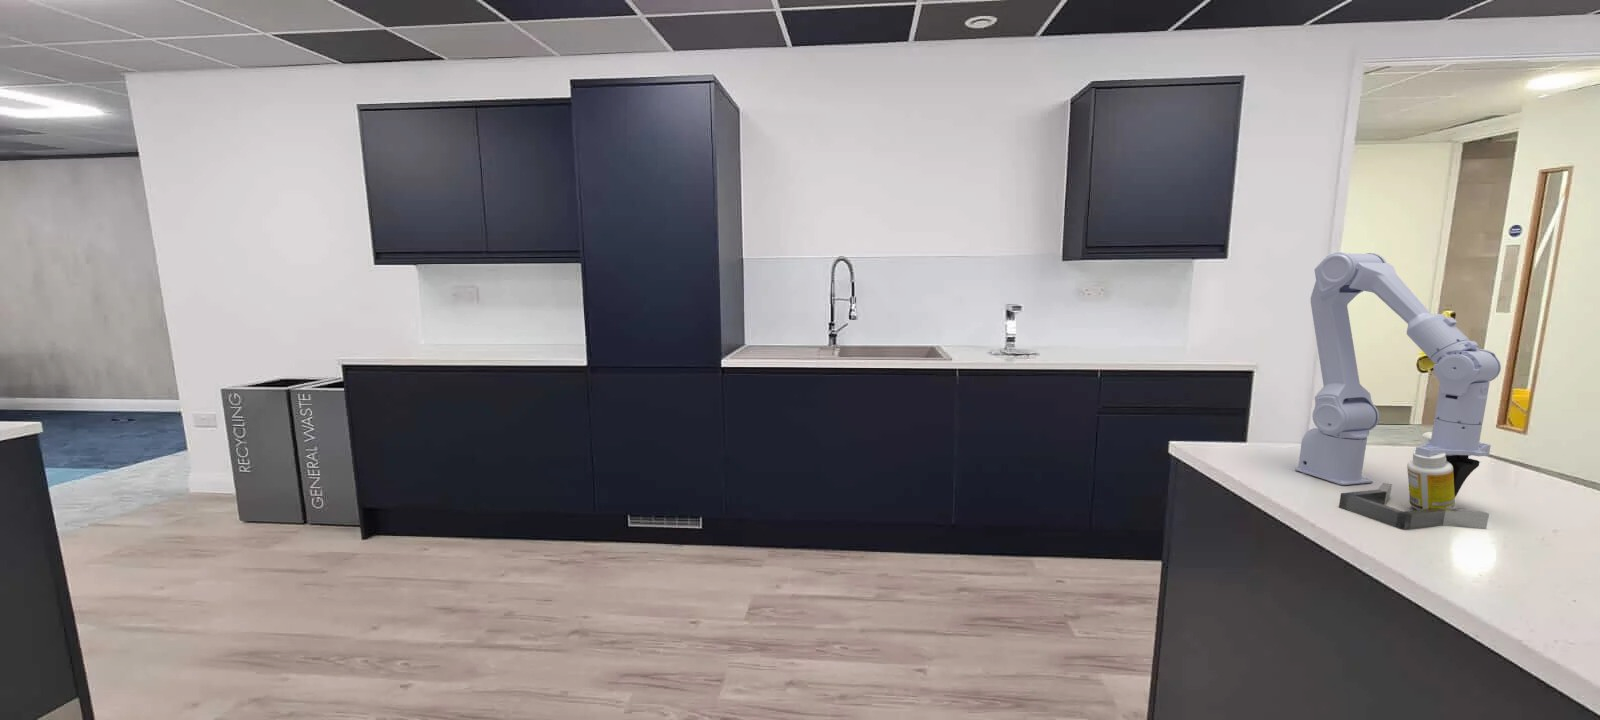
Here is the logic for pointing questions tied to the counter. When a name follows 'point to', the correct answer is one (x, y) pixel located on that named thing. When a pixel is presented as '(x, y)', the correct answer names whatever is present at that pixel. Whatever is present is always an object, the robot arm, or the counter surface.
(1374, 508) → the grey angular open frame
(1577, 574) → the counter surface
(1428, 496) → the supplement bottle
